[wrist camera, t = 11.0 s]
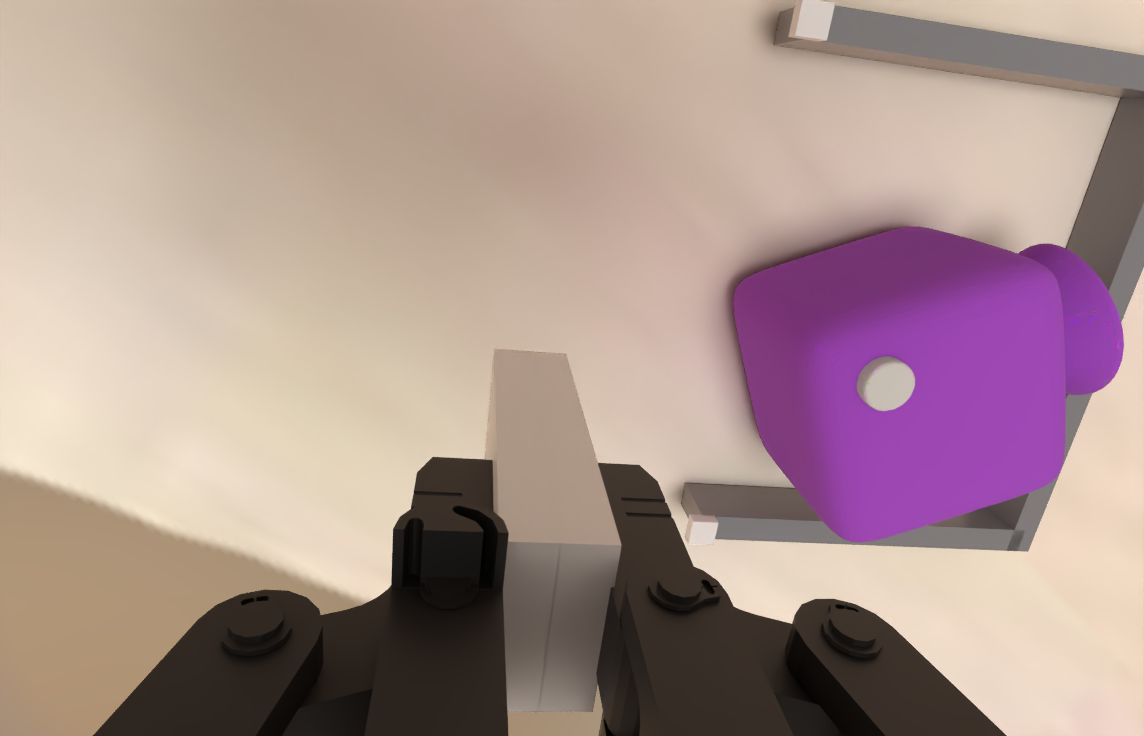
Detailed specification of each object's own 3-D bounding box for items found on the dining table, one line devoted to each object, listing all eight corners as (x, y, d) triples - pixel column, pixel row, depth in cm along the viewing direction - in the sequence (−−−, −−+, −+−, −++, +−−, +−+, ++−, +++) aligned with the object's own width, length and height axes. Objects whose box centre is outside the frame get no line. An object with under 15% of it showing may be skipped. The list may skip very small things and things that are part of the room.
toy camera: (1023, 351, 35) (1220, 443, 25) (772, 477, 36) (873, 610, 26) (969, 147, 31) (1179, 169, 21) (688, 294, 32) (772, 376, 22)
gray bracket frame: (765, 9, 28) (803, -2, 24) (1156, 71, 30) (1237, 68, 27) (669, 503, 35) (688, 544, 32) (988, 518, 38) (1035, 557, 35)
